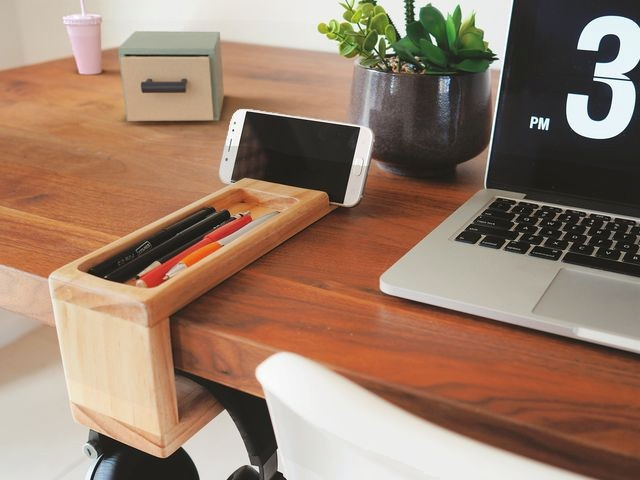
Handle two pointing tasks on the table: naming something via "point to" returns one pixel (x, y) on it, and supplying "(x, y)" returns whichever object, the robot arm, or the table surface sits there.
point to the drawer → (167, 87)
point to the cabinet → (180, 46)
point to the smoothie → (85, 40)
